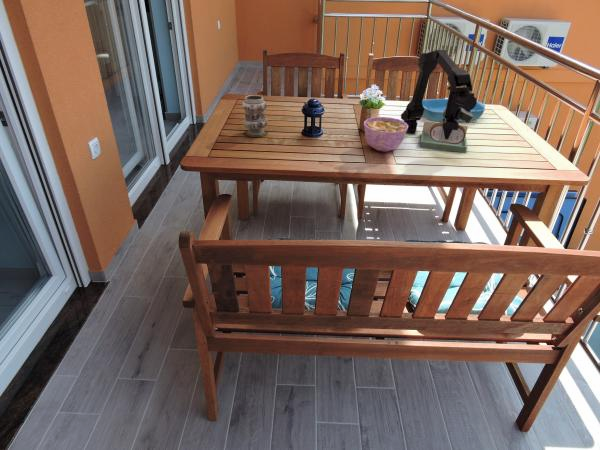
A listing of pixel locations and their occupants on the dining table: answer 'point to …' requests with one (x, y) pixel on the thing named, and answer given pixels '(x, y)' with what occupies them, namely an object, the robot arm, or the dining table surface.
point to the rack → (429, 143)
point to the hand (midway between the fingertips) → (446, 138)
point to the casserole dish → (437, 107)
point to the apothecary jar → (254, 115)
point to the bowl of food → (384, 132)
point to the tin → (454, 137)
